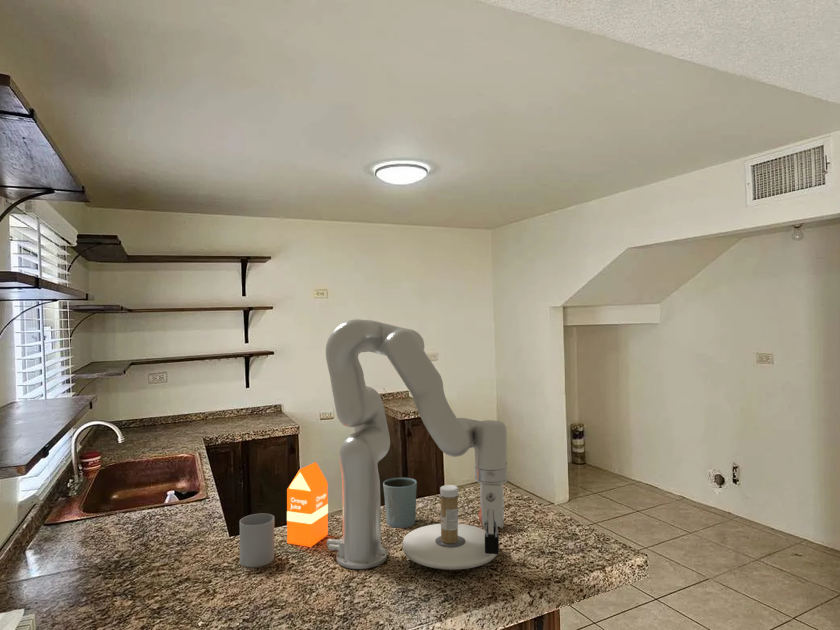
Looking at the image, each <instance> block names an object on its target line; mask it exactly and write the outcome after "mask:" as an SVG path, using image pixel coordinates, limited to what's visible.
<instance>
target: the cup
mask: <svg viewBox="0 0 840 630" xmlns="http://www.w3.org/2000/svg"><path fill="white" fill-rule="evenodd" d="M274 560H275V515H273V514H270V513H254V514H249V515H247V516H244V517H242V518H241V519H239V565H241V566H242V567H245V568H259V567H263V566H266V565H269V564H270V563H272V562H273V561H274Z"/></svg>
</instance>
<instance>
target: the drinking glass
mask: <svg viewBox="0 0 840 630" xmlns="http://www.w3.org/2000/svg"><path fill="white" fill-rule="evenodd" d="M417 484H418V482H417V480H416V479H414V478H410V477H393V478H388V479H385V480H384V481H383V483H382V486H383V495H384V496H383V497H384V510H385V520H386V525H387V526H389V527H391V528H394V529H395V528H396V529H403V528H410V527H413V526H414V525H415V524H416V516H417V515H416V513H417V512H416V511H417V509H416V508H417V497H416V496H417V486H418V485H417Z"/></svg>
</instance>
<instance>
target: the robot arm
mask: <svg viewBox="0 0 840 630" xmlns="http://www.w3.org/2000/svg"><path fill="white" fill-rule="evenodd" d="M361 353H375V354H378V355H381V356H386V357H387V359H388V360H389V361H390V363H391V365H392V366H393V368H394V369H395V371H396V372H397V374H398V376H399V377H400V378H401V380H402V382H403V384H404V385H405V386H406V388H407V390H408V391H409V393H410V394H411V396H412V399H413V402H414V405H415V407H416V409H417V412H418V414H419V416H420V418H421V421H422V423H423V425H424V427H425V428H426V429H425V430H426V431H427V432H428V433H429V435H430V436H431V439H432V440H433V441H434V442H435V444H436V445H437V448H439V450H440V451H441V452H443V453H444V454H445V455H447V456H449V457H452V458H456V457H457V458H458V457H460V456H464V455H465V454H466V453H467V452H468V451H469V449H472V448H473V449H474V480H475V482H477V483H479V484H480V485H479V489H480V491H479V492H480V494H479V496H480V508H481V516H482V524H481V525H482V527H484V528H485V529H484V530H486V534H485V553H486V554H497V555H498V554H499V550H500V549H499V545H500V542H499V541H500V540H499V539H500V538H499V537H500V536H499V530H497V526H498V528H500V529H503V527H504V518H505V517H504V516H505V515H504V484H505V483H507V481H508V461H507V460H508V454H507V453H508V451H507V448H508V447H507V445H508V444H507V442H508V441H507V440H508V439H507V426H506V424H505V423H504V422H502V421H499V420H476V419H472V418H471V419H470V418H466V417H457V416H456V414H455V413H454V411H453V410H452V408H451V406H450V405H449V403H448V400H447V397H446V395H445V391H444V390H445V389H444V382H443V379H442V378H443V377H442V376H441V374H440V372H439V371H438V369H437V368H436V366H435V365H434V364H433V362H432V361H431V358H430V357H429V356H428V354H427V353H426V352H425V341H424V338H423V337H422V335H421V334H420V333H419V332H417V331H415V330H414V329H412V328H411V329H410V328H404V327H401V326H397V325H392V324H388V323H385V322H384V323H383V322H380V321H377V320H369V319H359V318H357V319H350V320H347V321H344V322H343V323H341V324H338V326H336V328H334V329H333V331H332V332H331V333H330V335H329V337H328V338H327V341H326V345H325V360H326V364H327V370H328V373H329V379H330V383H331V390H332V391H331V393H332V397H333V402H334V406H335V407H334V408H335V413H336V417H337V419H338V421H339V422H340V423H341V425H343V426H345V427H346V428H353V430H354V432H353V433H351V434H350V435H349V436H347V437H346V438H345V439H344V441H343V442H342V443H341V445H340V448H339V456H338V458H339V466H340V474H341V485H342V486H341V490H342V491H341V492H342V495H341V498H342V537H340V538H339V539H336V538H328V539H327V540H326V546H327V547H328V550H329V551H337V553H336V562H337V563H338V564H339V566H342V567H344V568H346V569H352V570H367V569H372V568H375V567H377V566H380V565H381V564H383V563H385V562H386V561H387V558H388V557H387V556H388V553H387V550H386V549H385V548H384V547H383V546H382V544H381V543H382V542H381V540H382V537H381V536H382V535H381V534H382V533H381V531H382V530H381V529H382V528H381V527H382V526H381V525H382V524H381V523H382V521H381V518H382V517H381V479H380V473H379V467H378V464H379V462H380V461H381V460H383V459H384V457H386V455H387V454H388V452H389V450H390V447H391V438H390V437H391V436H390V431H389V426H388V422H387V416H386V411H385V406H384V402H383V399H382V397H381V395H380V394H379V392H378V391H377V390H375V388H372V387H371V386H366V382H365V380H366V379H365V377H364V376H365V375H364V374H365V373H364V370H363V367H362V365H361V362H360V360H359V355H360V354H361Z"/></svg>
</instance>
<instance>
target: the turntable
mask: <svg viewBox="0 0 840 630" xmlns="http://www.w3.org/2000/svg"><path fill="white" fill-rule="evenodd" d="M498 529H499V527H497V530H498ZM498 531H499V530H498ZM485 534H486V529H484V528H481V527H477V526H474V525H470V524H463V523H458V541H457V542H456V543H444V542H442V541H441V523H434V524H428V525H425V526H420V527H418V528H415V529H413V530H411V531H410V532H408V533H407V534H406V535H405V536H404V538H403V540H402V551H403V553H404V555H405V556H406V558H408V559H409V560H411V561H412V562H414V563H416V564H418V565H421V566H424V567H427V568H432V569H439V570H463V569H464V570H465V569H466V570H467V569H473V568H476V567H480V566H484V565H486V564H488V563H490V562H492V561H493V560H494V559H495V558H496V557H497V556H498V554H486V553H485Z"/></svg>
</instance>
